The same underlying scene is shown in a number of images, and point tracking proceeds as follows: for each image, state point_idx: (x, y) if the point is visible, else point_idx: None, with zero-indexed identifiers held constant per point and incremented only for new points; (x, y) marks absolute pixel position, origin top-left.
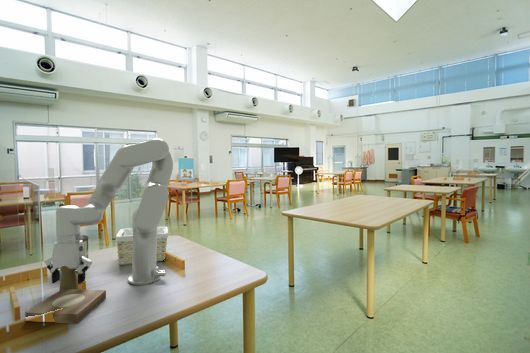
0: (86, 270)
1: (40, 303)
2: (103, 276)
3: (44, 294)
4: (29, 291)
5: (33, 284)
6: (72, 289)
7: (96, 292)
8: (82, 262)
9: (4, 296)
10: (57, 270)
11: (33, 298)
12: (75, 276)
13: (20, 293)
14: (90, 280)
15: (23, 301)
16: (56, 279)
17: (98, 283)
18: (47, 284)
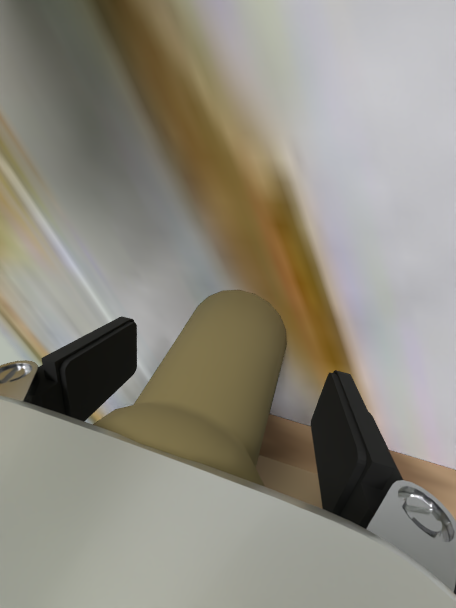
0: (437, 505)
1: None
2: (448, 39)
3: (139, 356)
4: (54, 309)
5: (4, 221)
6: (299, 469)
7: None
8: (397, 596)
9: (7, 340)
10: (51, 393)
11: (122, 385)
12: (268, 406)
13: (37, 324)
14: (325, 167)
15: (105, 401)
16: (124, 360)
17: (419, 243)
18: (68, 228)
